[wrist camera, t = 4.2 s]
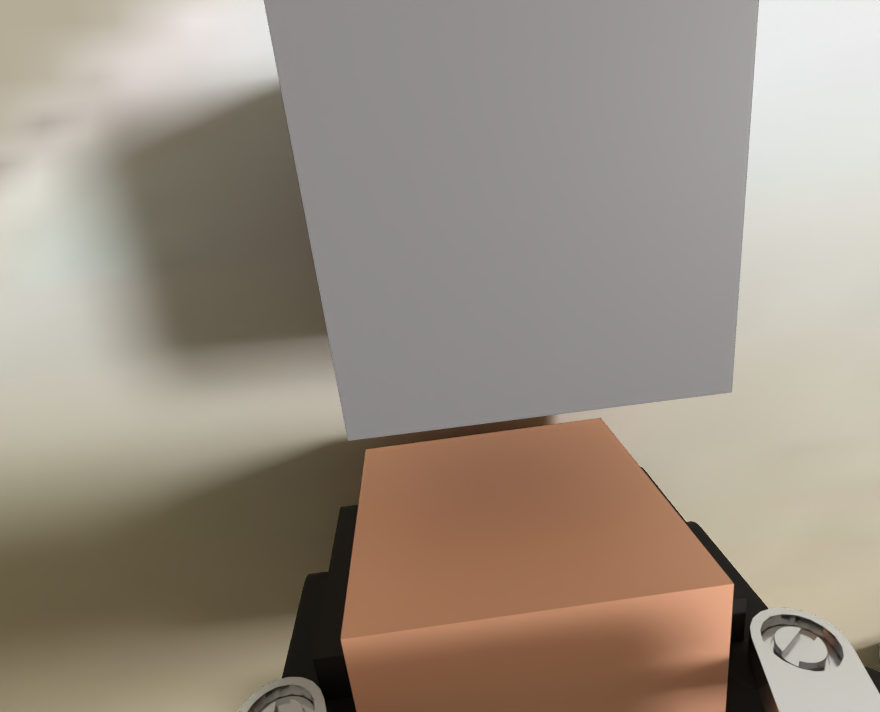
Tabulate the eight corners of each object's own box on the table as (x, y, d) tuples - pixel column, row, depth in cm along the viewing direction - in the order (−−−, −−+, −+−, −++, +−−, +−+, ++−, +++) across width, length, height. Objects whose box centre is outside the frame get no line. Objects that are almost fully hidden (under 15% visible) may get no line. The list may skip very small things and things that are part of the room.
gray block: (604, 300, 12) (731, 392, 7) (371, 329, 12) (348, 440, 7) (600, 37, 10) (763, -68, 6) (330, 69, 10) (261, -9, 5)
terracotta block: (605, 606, 13) (716, 844, 9) (398, 635, 13) (396, 893, 9) (600, 417, 12) (734, 584, 7) (366, 449, 12) (340, 639, 7)
